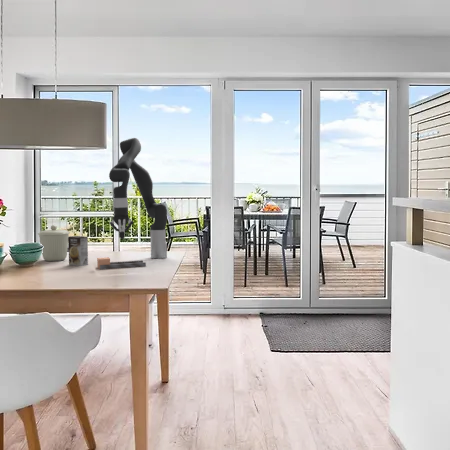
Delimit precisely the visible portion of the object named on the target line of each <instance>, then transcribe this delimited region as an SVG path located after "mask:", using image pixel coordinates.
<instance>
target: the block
mask: <svg viewBox="0 0 450 450" xmlns="http://www.w3.org/2000/svg"><path fill="white" fill-rule="evenodd" d="M96 260H97V261H96V263H97V269H98V270H100V265H110V262H111V258H110V257H106V256H105V257H96Z"/></svg>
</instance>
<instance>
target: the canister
mask: <svg viewBox="0 0 450 450" xmlns="http://www.w3.org/2000/svg"><path fill="white" fill-rule="evenodd" d="M37 235H38V237H39V242H40V245H41V244H42V245H43V246H44V248H43V253H42V252H41V254H42V258H43V260H44V261H46V262H58V261H59V262H61V261H64V260H66V258H67V256H68V250H69V248H68V237H70V236H69V235H70V231H68V230H65V229H58V226H57V225H55V224H54V225H50V229H45V230H41V231H39V233H37Z"/></svg>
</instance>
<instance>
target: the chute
mask: <svg viewBox="0 0 450 450" xmlns="http://www.w3.org/2000/svg"><path fill="white" fill-rule="evenodd" d="M143 267H144V268H145V267H147V262H145V261H144V260H129V261H128V260H127V261H110V265H100V269H99V270H115V269H129V268H143Z"/></svg>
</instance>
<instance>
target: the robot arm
mask: <svg viewBox="0 0 450 450" xmlns="http://www.w3.org/2000/svg"><path fill="white" fill-rule="evenodd" d="M119 149H120V151H121V153H122V155H121V156H120V157H119V159H118V161H117V164H115V165H114V166H113V167H112V168H111V169H110V171H109V174H108V177H109V179H110V182H113V183H121V185H118V186H115V187H113V189H112V191H113V218H112V220H111V221H109V225H110V226H111V227H112V228H113V229H114V231H116V232H118V238H119V239H121V240H124V239H125V237H126V234H125V232H127V231H129V229H130V228H131V227H132V225H133V224H134V221H133V220H131V219H130V216H129V201H128V185H129V181H130V177H131V174H132V176H133V179H134V181H135V183H136V184H135V185H136V186H137V189H138V190H139V193H140V195H141V199H142V201H143V202H144V203H143V204H144V207H145V210H146V212H147V215H148V216H149V218H151V219H154V220H153V221H154V222H153V223H152V224H150V226H149V228H150V229H149V230H150V231H149V232H150V258H151V259H165V258H167V257H168V249H167V248H168V247H167V240H166V237H167V235H166V227H167V225H168V224H167V223H168V220H167V218H168V209H167V207H166V205H165V204H163V203H159V202H158V203H157V202H156V200H155V197H154V195H153V189H154V186H153V185H154V184H153V180H152V177H151V175H150V173H149V171H148V170H147V169H146V168H145V167H143V166H142V165H141V164H140V163H138V162H137V161H136V160H135V159H136V158H137V156H138V155H139V154H140V153H141V151H142V144H141V141H140V140H139V139H138V138H137V137H131V138H127V139H126V140H121V141H120V142H119ZM130 172H131V174H130ZM115 224H116V225H117V226H116V225H115ZM117 227H118V228H117Z"/></svg>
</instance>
